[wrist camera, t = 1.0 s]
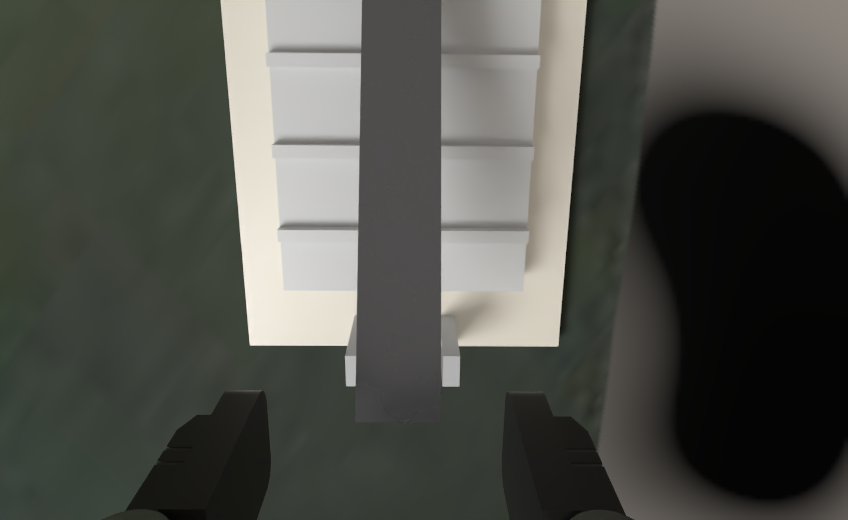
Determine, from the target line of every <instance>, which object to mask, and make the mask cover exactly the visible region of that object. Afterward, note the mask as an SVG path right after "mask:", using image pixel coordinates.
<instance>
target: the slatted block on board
mask: <svg viewBox="0 0 848 520" xmlns="http://www.w3.org/2000/svg"><path fill="white" fill-rule="evenodd" d="M586 7H587V0H441V374H442V386H459V376H460V352H459V346H558V342H559V330H560V318H561V306H562V294H563V282H564V270H565V258H566V246H567V234H568V222H569V210H570V198H571V186H572V174H573V162H574V150H575V138H576V126H577V114H578V102H579V90H580V79H581V67H582V55H583V43H584V31H585V19H586ZM221 10H222V22H223V34H224V45H225V57H226V69H227V81H228V93H229V104H230V116H231V128H232V140H233V152H234V163H235V175H236V187H237V199H238V211H239V223H240V234H241V246H242V258H243V270H244V282H245V293H246V305H247V317H248V329H249V341H250V345H303V346H347V350H346V355H345V366H346V386H356V332H357V271H358V210H359V149H360V87H361V26H362V0H221Z"/></svg>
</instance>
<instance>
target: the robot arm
mask: <svg viewBox="0 0 848 520" xmlns="http://www.w3.org/2000/svg"><path fill="white" fill-rule="evenodd" d="M270 469H271V453H270V440H269V427H268V414H267V401H266V396H265V393H264V391H262V390H227V391H225V392H224V393H223V395H222V397H221V399H220V400H219V402H218V404H217V406H216V407H215V409H214V411H213V413H212V414H211V415H197V416H195V417H194V418H192V419H191V420H190V421H188V422H187V423H186V424H184V425H183V426H182V427H180V428H179V429H178V430H177V431H176V433H175V434H174V436H173V437H172V439H171V440H170V442H169V443H168V445H167V447H166V450H164V451H163V453H162V454H161V456H160V458H159V459H158V461H157V465H154V467H153V468H152V470H151V472H150V473H149V475H148V476H147V478H146V479H145V481H144V483H143V484H142V486H141V487H140V489H139V490H138V492H137V493H136V495H135V497H134V498H133V500H132V501H131V503H130V504H129V506H128V508H127V509H126V511H124V512H120V513H117V514H114V515H111V516H109V517H107V518H104V519H102V520H257V517H258V514H259V511H260V508H261V506H262V503H263V500H264V497H265V494H266V491H267V488H268V484H269V478H270ZM502 478H503V487H504V493H505V498H506V503H507V508H508V513H509V518H510V520H634V519H632V518H630V517H628V516H626V515H625V512H624V510H623V508H622V506H621V504H620V501H619V499H618V497H617V495H616V492H615V490H614V488H613V486H612V484H611V481H610V479H609V477H608V475H607V473H606V470H605V468H604V467H602V462H601V459H600V457H599V455H598V453H597V452H596V448H595V446H594V444H593V442H592V440H591V437H590V435H589V433H588V431H587V430H585V429H584V428H583V427H582V426H581V425H580V424H579V423H577V422H576V421H575V420H574V419H573V418H572V417H553V415H552V412H551V409H550V407H549V404H548V401H547V399H546V396H545V394H544V392H507V394H506V400H505V415H504V433H503V450H502Z"/></svg>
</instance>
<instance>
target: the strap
mask: <svg viewBox="0 0 848 520" xmlns="http://www.w3.org/2000/svg"><path fill="white" fill-rule="evenodd" d="M355 422H441V0H362V26H361V87H360V149H359V210H358V271H357V332H356V393H355Z"/></svg>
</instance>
